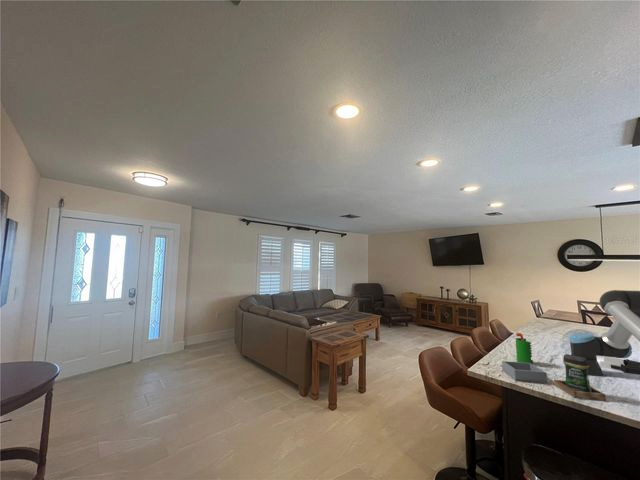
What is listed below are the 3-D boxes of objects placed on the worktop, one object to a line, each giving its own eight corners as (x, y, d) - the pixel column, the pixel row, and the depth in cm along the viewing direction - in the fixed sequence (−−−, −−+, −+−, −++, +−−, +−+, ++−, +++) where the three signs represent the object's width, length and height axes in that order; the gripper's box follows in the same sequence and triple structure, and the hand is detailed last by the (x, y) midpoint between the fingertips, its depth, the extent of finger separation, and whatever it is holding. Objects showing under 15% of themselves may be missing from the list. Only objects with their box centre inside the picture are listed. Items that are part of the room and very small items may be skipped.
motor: (537, 366, 173) (534, 335, 176) (522, 364, 175) (519, 334, 178) (528, 361, 183) (525, 332, 186) (514, 360, 185) (511, 331, 187)
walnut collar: (582, 387, 140) (581, 382, 140) (606, 401, 125) (605, 394, 126) (554, 385, 143) (554, 379, 143) (574, 397, 128) (574, 391, 129)
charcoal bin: (531, 373, 160) (530, 363, 161) (547, 383, 145) (546, 372, 146) (502, 370, 164) (501, 360, 164) (515, 380, 148) (514, 369, 149)
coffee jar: (564, 391, 136) (560, 354, 138) (568, 387, 140) (564, 352, 143) (590, 398, 128) (585, 359, 130) (593, 394, 132) (589, 356, 135)
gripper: (677, 391, 104) (600, 374, 120) (674, 377, 119) (606, 364, 135) (673, 371, 105) (598, 357, 121) (671, 360, 120) (604, 349, 136)
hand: (602, 361), depth 128 cm, fingers open, 13 cm apart
